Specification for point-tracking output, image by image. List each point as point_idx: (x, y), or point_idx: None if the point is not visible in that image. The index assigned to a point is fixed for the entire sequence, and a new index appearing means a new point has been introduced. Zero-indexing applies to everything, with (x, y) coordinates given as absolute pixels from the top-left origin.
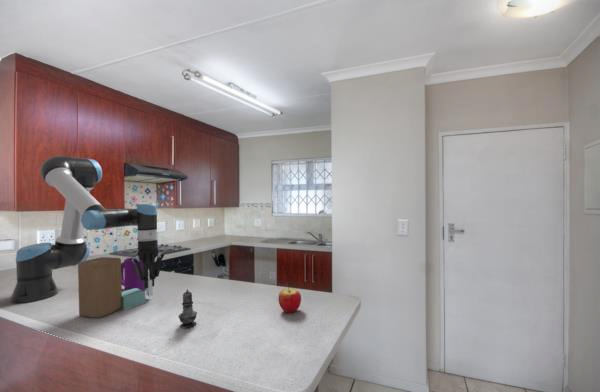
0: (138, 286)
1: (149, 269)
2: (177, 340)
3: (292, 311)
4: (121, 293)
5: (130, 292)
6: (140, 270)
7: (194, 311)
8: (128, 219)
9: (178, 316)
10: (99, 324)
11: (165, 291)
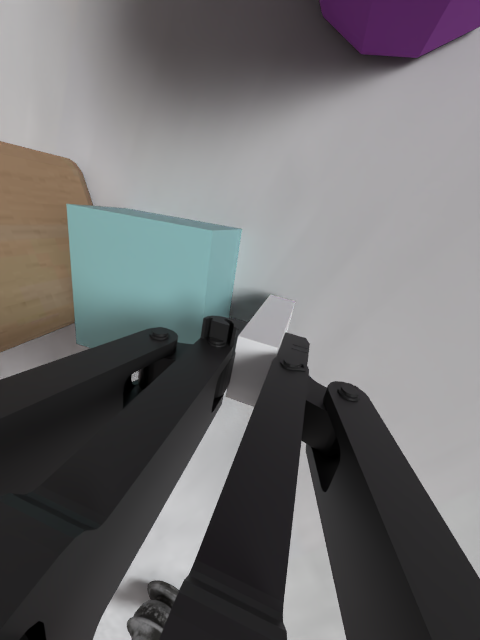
0: (378, 20)
1: (242, 445)
2: (113, 597)
3: None
4: (55, 327)
5: (133, 303)
6: (50, 465)
7: None
8: None
9: (129, 620)
10: (29, 363)
11: (460, 290)
